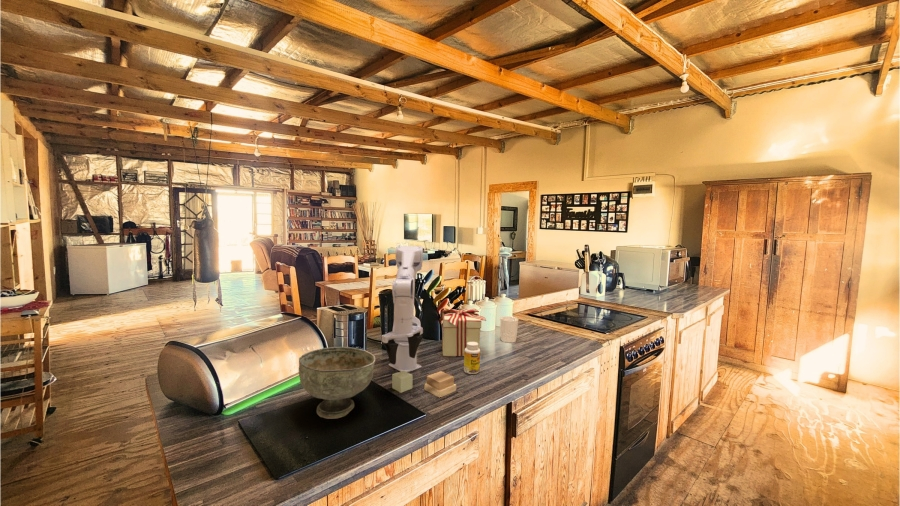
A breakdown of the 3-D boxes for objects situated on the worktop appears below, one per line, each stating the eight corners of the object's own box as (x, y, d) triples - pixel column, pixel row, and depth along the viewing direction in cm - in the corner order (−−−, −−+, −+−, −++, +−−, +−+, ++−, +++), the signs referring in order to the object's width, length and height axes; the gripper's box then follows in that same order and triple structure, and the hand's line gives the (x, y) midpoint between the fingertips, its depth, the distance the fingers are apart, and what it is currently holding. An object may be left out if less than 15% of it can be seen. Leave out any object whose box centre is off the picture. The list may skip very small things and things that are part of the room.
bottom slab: (424, 391, 116) (424, 383, 115) (440, 384, 120) (440, 377, 120) (439, 399, 111) (439, 391, 110) (456, 392, 116) (456, 384, 115)
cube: (392, 388, 116) (392, 374, 116) (403, 383, 119) (403, 370, 119) (400, 393, 113) (401, 378, 113) (412, 388, 116) (412, 374, 116)
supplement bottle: (470, 376, 126) (470, 347, 126) (460, 370, 131) (461, 342, 130) (482, 372, 130) (483, 344, 129) (473, 367, 134) (474, 339, 133)
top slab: (426, 383, 115) (426, 376, 115) (440, 378, 119) (441, 371, 119) (439, 390, 111) (439, 382, 111) (453, 384, 115) (454, 377, 115)
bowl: (386, 410, 102) (387, 357, 101) (318, 437, 89) (318, 377, 88) (351, 386, 117) (351, 339, 115) (288, 406, 103) (287, 354, 102)
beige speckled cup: (520, 339, 167) (521, 318, 166) (513, 344, 160) (514, 322, 159) (503, 336, 171) (504, 315, 170) (496, 341, 164) (497, 319, 163)
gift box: (443, 360, 140) (444, 316, 138) (439, 344, 158) (439, 304, 156) (487, 359, 142) (489, 315, 140) (478, 343, 160) (479, 304, 159)
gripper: (391, 324, 106) (391, 370, 107) (429, 316, 117) (428, 358, 118) (377, 319, 111) (377, 363, 112) (415, 312, 121) (414, 352, 123)
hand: (402, 360), depth 115 cm, fingers open, 7 cm apart
